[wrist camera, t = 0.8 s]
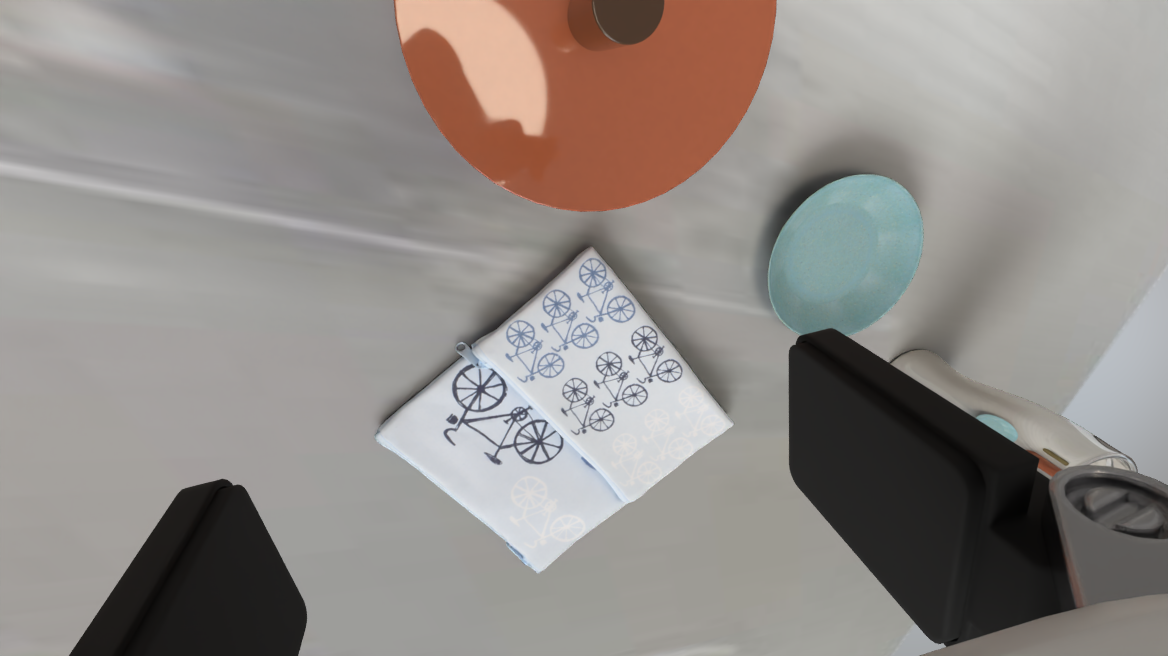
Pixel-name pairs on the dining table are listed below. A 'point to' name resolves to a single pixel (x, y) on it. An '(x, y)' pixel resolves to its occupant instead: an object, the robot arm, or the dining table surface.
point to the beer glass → (1015, 417)
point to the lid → (586, 89)
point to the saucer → (845, 255)
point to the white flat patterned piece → (558, 414)
